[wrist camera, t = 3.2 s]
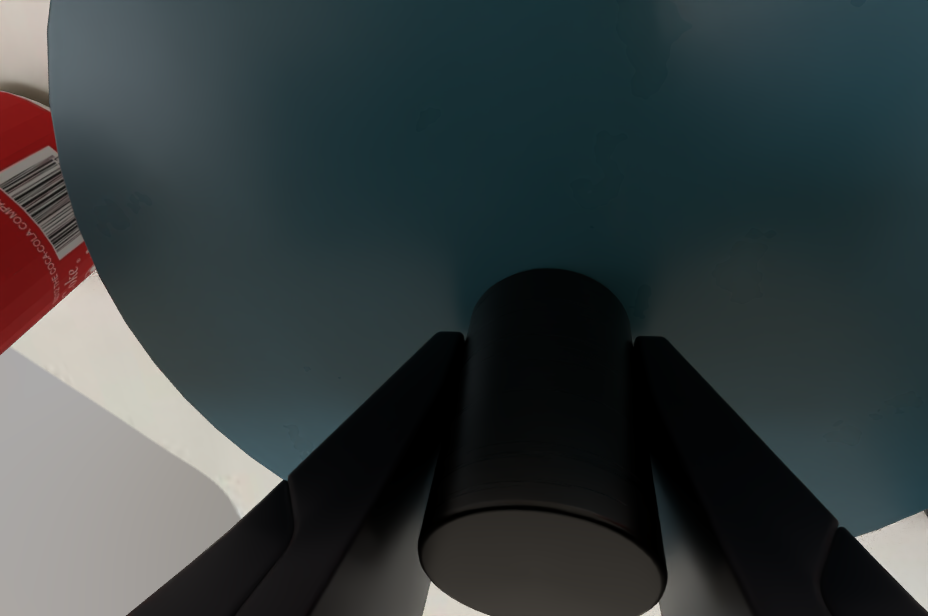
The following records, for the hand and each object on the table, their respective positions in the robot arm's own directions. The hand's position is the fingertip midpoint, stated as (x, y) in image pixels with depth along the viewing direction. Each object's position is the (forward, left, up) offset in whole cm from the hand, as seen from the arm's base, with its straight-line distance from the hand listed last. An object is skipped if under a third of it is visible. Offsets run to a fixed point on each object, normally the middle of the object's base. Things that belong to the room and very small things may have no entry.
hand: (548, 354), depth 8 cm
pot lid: (0, 0, -1) cm, 1 cm away
